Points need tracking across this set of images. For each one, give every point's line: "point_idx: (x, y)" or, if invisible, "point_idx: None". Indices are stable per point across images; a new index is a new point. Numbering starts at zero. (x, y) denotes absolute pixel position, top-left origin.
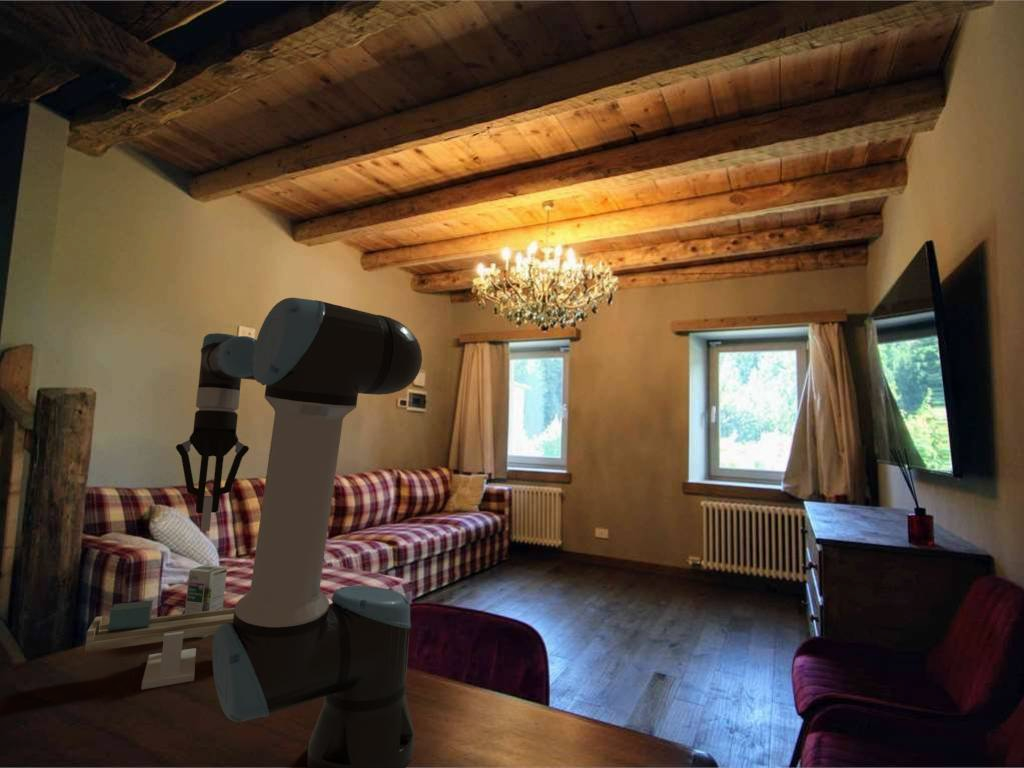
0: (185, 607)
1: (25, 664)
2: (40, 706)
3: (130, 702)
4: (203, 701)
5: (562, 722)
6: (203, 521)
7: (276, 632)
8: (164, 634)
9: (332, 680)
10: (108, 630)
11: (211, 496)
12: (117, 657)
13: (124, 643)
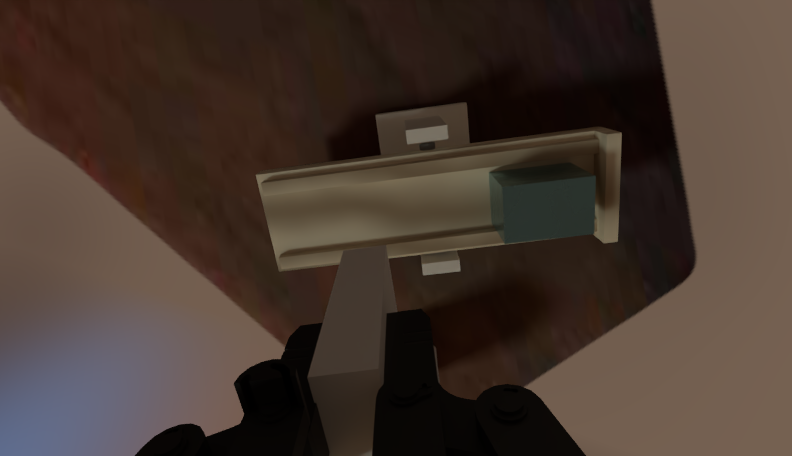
0: (439, 383)
1: (677, 282)
2: (620, 83)
3: (473, 48)
4: (341, 6)
5: None
6: (375, 270)
7: None
8: (447, 133)
9: None
10: (575, 165)
11: (329, 417)
12: (532, 271)
13: (527, 137)
